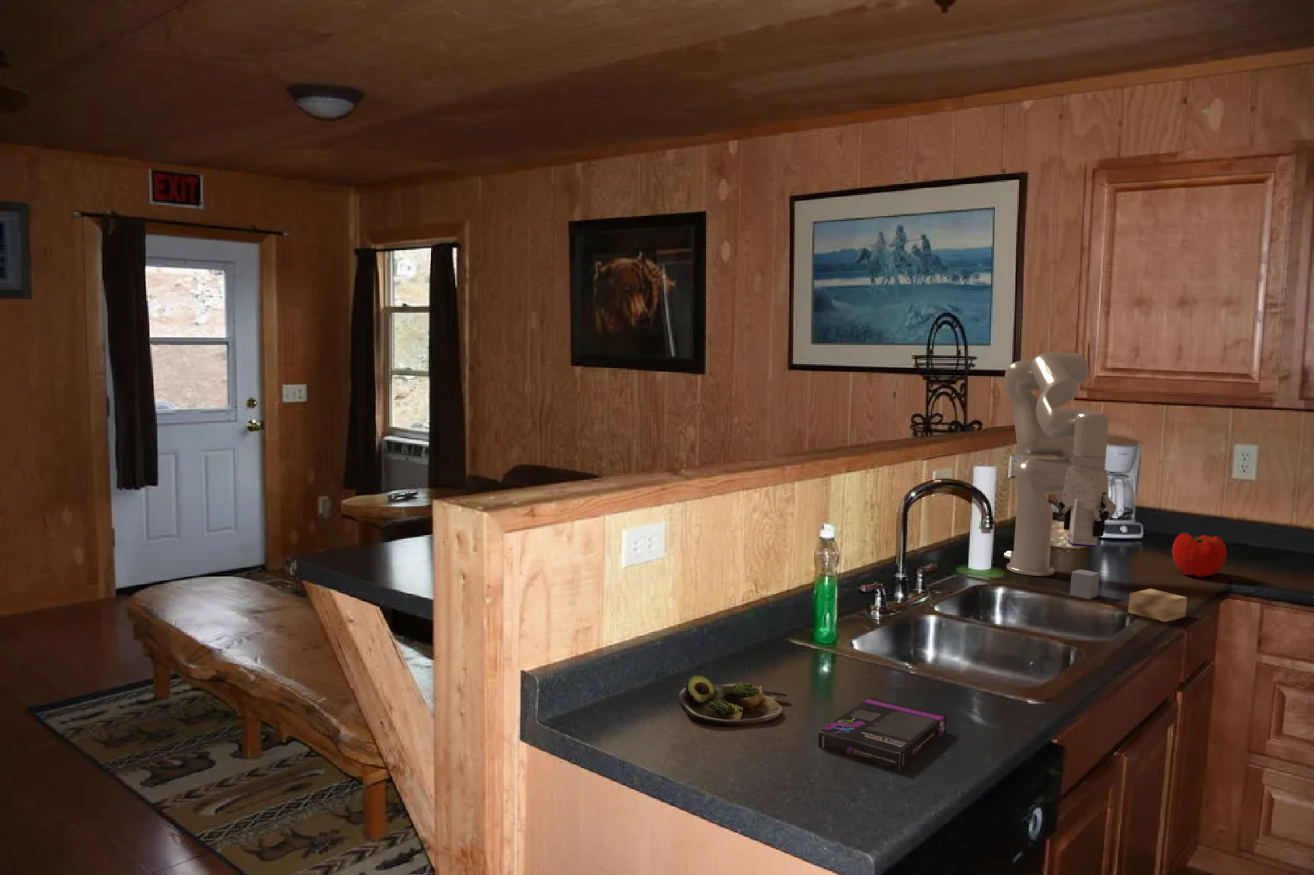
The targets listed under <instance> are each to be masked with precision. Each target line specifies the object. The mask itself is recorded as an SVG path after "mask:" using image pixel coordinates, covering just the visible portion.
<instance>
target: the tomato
mask: <svg viewBox="0 0 1314 875" xmlns="http://www.w3.org/2000/svg"><path fill="white" fill-rule="evenodd" d="M1227 553H1228V552H1227V547H1226V543H1225V542H1224V540H1222V538H1221V537H1218V536H1209V535H1205V534H1203V535H1200V536H1198V537H1197V536H1192V535H1191V534H1190V533H1188V532H1181V533H1179V535H1178V536H1176V537H1175V539H1174V542H1173V544H1172V549H1171V554H1172V555H1171V556H1172V559H1173V561H1174V565H1175V566H1176V568H1178V570H1179V571H1181V572H1182V573H1184V575H1187V576H1195V577H1197V578H1205V577H1210V576H1214V575H1215V574H1217V573H1219V572H1221V569H1222V568H1223V567H1224V564H1225V562H1226V559H1227Z"/></svg>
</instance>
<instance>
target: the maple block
mask: <svg viewBox="0 0 1314 875" xmlns="http://www.w3.org/2000/svg"><path fill="white" fill-rule="evenodd" d="M1128 599H1129V600H1128V611H1127V612H1128V613H1129V614H1134V615H1136V616H1141V617H1143V618H1149V619H1152V620H1155V619H1157V620H1156V621H1158V620H1160V622H1162V621H1163V623H1166V622H1170V621H1175V620H1179V619H1183V618H1185V617H1186V611H1187V602H1188V598H1187V596H1182V595H1179V594H1175V593H1169V592H1166V591H1163V590H1162V591H1161V590H1158V589H1153V588H1147V589H1143V590H1139V591H1134V592H1130V593H1129V598H1128Z"/></svg>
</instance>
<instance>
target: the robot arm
mask: <svg viewBox="0 0 1314 875" xmlns="http://www.w3.org/2000/svg"><path fill="white" fill-rule="evenodd" d="M1089 373H1090V369H1089V363H1088V361H1087V359H1086V358H1085V357H1084V356H1083V355H1082V354H1080V353H1075V352H1074V353H1073V352H1043V353H1039V354H1038V355H1037V356H1035V357H1034V358H1033V359H1032V360H1018V361H1014V362H1012V363H1010V364H1009V365H1008V366H1007V367H1006V369H1005V374H1004V388H1005V393H1006V396H1007V399H1008V401H1009V403H1010V405H1011V408H1012V411H1013V412H1012V413H1013V419H1014V429H1015V436H1016V437H1015V438H1016V445H1017V449H1018V451H1019V453H1020V454H1021V455H1023V456H1026V457H1033V458H1034V459H1033V458H1032V459H1031V458H1030V459H1026V460H1023V461H1021V462H1020V463H1018V464H1017V465H1016V468H1015V472H1014V473H1015V474H1014V475H1015V476H1014V478H1015V479H1014V480H1015V487H1016V510H1015V511H1016V512H1015V515H1016V516H1015V530H1014V541H1013V542H1014V543H1013V550H1007V551H1006V552H1004V555H1003V557H1004V558H1006V559H1009V562H1008V563H1007V564H1006V569H1007V570H1008V571H1010V572H1012V573H1016V574H1021V575H1026V576H1034V577H1035V576H1036V577H1037V576H1038V577H1039V576H1040V577H1047V576H1052V575H1055V572H1056V570H1055V568H1054V567H1052V566H1050V557H1051V543H1052V542H1051V541H1052V530H1053V514H1054V513H1053V507H1052V505H1051V503H1049V501H1048V499H1047V498H1046V496H1045V495H1056V496H1055V498H1056V500H1057V501H1058V503H1059V505H1058V506H1059V507H1060V508H1061V512H1062V514H1063V515H1064V516H1063V530H1065V531H1069V524H1070V514H1071V507H1074V505H1075V500H1076V499H1078V500H1082V508H1083V509H1084V510H1090V511H1093V513H1094V516H1095V518H1096V520H1094V522H1093V537H1097V538H1099V537H1104V533H1105V526H1106V525H1105V524H1106V521H1108V519H1109V518H1110V517H1111V516H1112V515H1113V513H1114V512H1115V511H1116V510H1117V504H1115V503H1114V502H1113V501H1112V500H1111V498H1109V479H1108V471H1107V469H1106V460H1107V458H1106V457H1107V449H1108V448H1107V446H1108V435H1109V433H1108V432H1109V420H1110V419H1109V417H1108V415H1107V414H1106V413H1105V412H1104V413H1103V412H1099V411H1098V410H1095V409H1091V408H1069V407H1068V408H1067V407H1066V408H1065V407H1062V406H1065V405H1067V404H1069V403H1071V401H1073V400H1074V399H1075V398H1076V396H1077V395H1078V391H1079V390H1078V387H1079V386H1081V385H1082V384H1084V382H1086V380H1087V379H1088V377H1089ZM1032 391H1040V392H1041V394H1040V395H1039V397H1037V396H1036V395H1034V394H1033V393H1032ZM1061 407H1062V408H1061ZM1041 458H1042V459H1041ZM1043 458H1045V459H1043ZM1047 458H1055V459H1047ZM1099 506H1100V508H1099ZM1099 511H1100V513H1099Z"/></svg>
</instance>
